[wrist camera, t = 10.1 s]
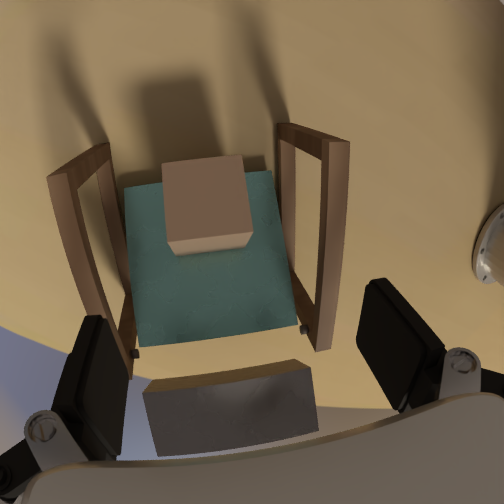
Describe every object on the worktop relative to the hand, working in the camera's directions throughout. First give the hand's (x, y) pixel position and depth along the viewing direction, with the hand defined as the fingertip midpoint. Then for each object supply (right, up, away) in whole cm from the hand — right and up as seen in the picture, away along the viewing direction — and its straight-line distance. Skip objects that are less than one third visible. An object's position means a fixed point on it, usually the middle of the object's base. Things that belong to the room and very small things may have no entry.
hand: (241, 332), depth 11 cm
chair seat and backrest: (-3, -2, +14) cm, 15 cm away
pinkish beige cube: (-3, +5, +13) cm, 14 cm away
